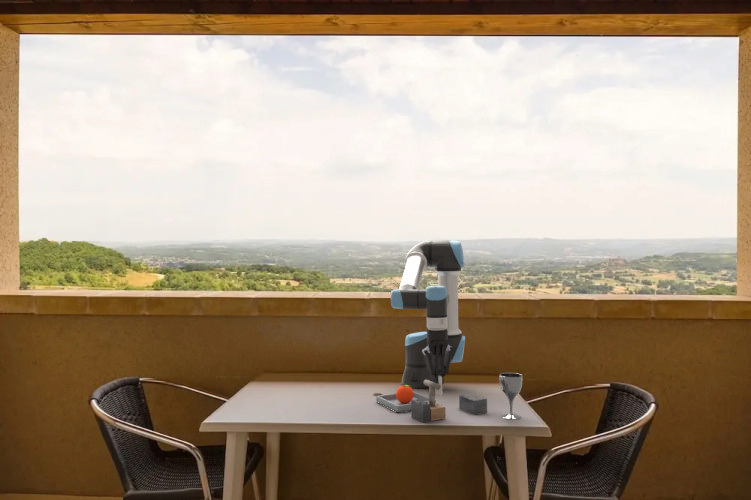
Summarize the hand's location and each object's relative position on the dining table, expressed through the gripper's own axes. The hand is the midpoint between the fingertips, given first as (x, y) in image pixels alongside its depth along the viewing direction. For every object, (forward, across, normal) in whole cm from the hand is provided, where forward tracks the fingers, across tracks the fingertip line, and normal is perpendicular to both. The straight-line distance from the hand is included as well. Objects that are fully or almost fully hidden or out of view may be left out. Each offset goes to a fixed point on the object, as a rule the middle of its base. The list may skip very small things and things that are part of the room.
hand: (438, 394), depth 196 cm
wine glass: (+9, +22, -13) cm, 27 cm away
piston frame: (+8, +4, 0) cm, 9 cm away
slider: (+8, -3, 0) cm, 8 cm away
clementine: (+8, -3, +19) cm, 21 cm away
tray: (+8, -3, +19) cm, 21 cm away
